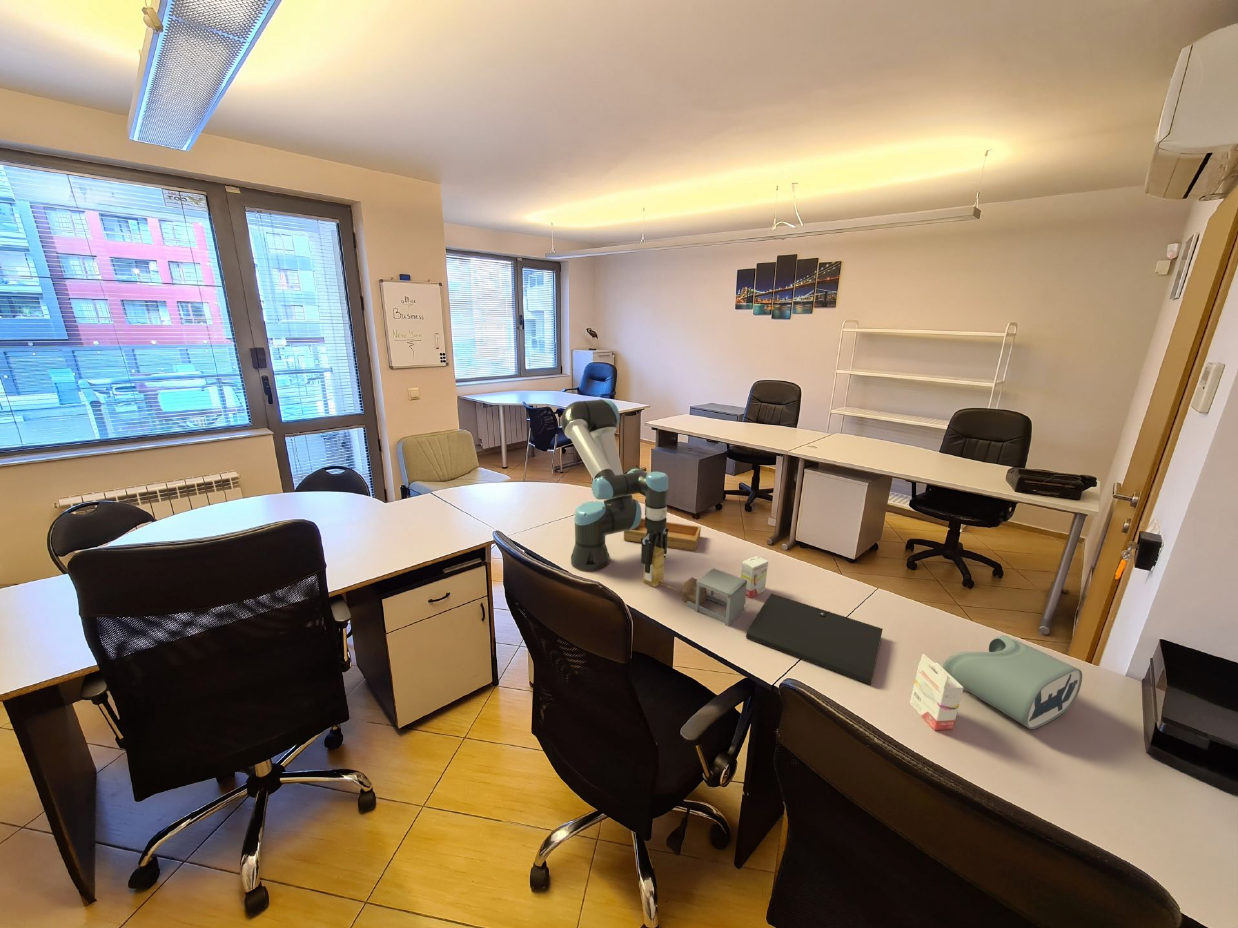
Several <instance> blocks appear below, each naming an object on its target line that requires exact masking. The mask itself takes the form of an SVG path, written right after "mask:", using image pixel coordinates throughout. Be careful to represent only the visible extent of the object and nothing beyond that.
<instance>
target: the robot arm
mask: <svg viewBox="0 0 1238 928" xmlns="http://www.w3.org/2000/svg"><path fill="white" fill-rule="evenodd" d="M620 418H621V416H620V411H619V408H618V406H617V405H616V403H615V402H614V401H612V400H610V399H602V398H601V399H595V400H594V399H591V400H577V401H574V402H571V403H570V404H569V405H568V406H566V407H565V409H564V410H563V413H562V415H561V419H560V423H561V428H562V432H563V433H564V435H565V437H566V438H567V439H570V441H571V442H572V444H573V445H574V447H575V449H576V451H577V453H578V455H579V456H580V458H581V460H582V462H583V464H584V465H585V467H586V469H587V471H588V473H589V474H590V476H591V478H592V482H591V485H590V486H591V491H592V494H593V497H594V498H595V499H596V500H600V501H594V500H593V501H587V502H584V503H582V504H580V505H578V506H577V508H576V509H575V512H574V520H573V521H574V539H575V543H574V547H573V549H572V553H571V555H570V564H571V566H572V567H573V568H575V569H577V570H579V571H584V572H594V571H600V570H604V569H605V568H607V567H608V566H609V565H610V561H611V560H610V558H611V555H610V553H609V551H608V546H607V545H606V536H608V535H609V536H610V535H613V534H618V533H622V532H623V533H624V531H629V530H631V529H634V528H636V527H637V526H638V525H639V524H640V521H641V518H642V515H643V513H642V511H643V510H642V507H641V504H640V502H639V501H638V500H637V499H636V498H633V496H632V495H635V494H636V495H637V494H640V495H642V496H644V497H645V504H644V505H645V506H644V516H645V517H644V518H645V528H646V529H647V533H646V537H645V538H641V543H640V544H641V546H640V547H641V551H640V552H641V553H640V563H641V564H642V565H643V566H644V565H645V579H646V580H648V581H652V575H653V564H651V563H652V558H653V553H654V548H655V546H656V547H659V548H663V549H664V559H666V555H667V553H668V547H667V535H668V531H669V529H667V528H666V522H668V520H667V514H668V499H669V477H668V474H667V473H665V472H661V471H650V472H646V471H644V470H641V469H639V468H632V469H630V470H629V471H627V473H624V471H623V468H622V462H621V457H620V455H619V450H618V445H617V441H616V435H615V433H616V431H617V430H618V429H617V426H618V425H619V424H620V421H621V420H620ZM601 500H602V501H603V502H602V501H601ZM650 542H651V543H650Z"/></svg>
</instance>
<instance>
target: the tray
mask: <svg viewBox="0 0 1238 928" xmlns="http://www.w3.org/2000/svg"><path fill="white" fill-rule="evenodd" d="M666 528H667V529H669V531H668V535H667V548H671V549H672V548H673V549H677V550H682V551H690V552H696V549H697V546H698V544H699V541H700V537H701V526H698V525H692V524H685V523H684V524H683V523H678V522H670V521H667V522H666ZM646 533H647V529H646V528H645V517H643V518H642V517H641V521H640V524H639V525H638V526H637V527H636V528H634V529H631V530H629V531H623V541H627V542H634V543H635V542H636V543H640V544H641V538H645V537H646ZM650 543H651V542H650Z"/></svg>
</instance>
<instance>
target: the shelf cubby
mask: <svg viewBox="0 0 1238 928" xmlns="http://www.w3.org/2000/svg"><path fill="white" fill-rule="evenodd" d="M696 584H697V590H696V604H695V603H692V602H690V601H687V602H686V606H687V607H689V608H691V609H693V610H694V612H697V613H699V612H700V613H702V614H704V615H706V616H709V617H711V618H713V619H716V620H717V621H720V622H722V623H724V625H725V626H726V627H729V626H730V625H731V624H732V623H733V622H734V621H735V620H736V619H737V618H738V617H739V616H740V615H741V614H742V613H743V612H744V611H745V605H746V597H747V596H746V586H747V580H744V579H742V578H741V577H739V576H737V575H734V574H731V573H728V572H726V571H724V570H723V571H722V570H719V569H718V568H715V567H713V568H712V569H710V570H709V571H707V572H706V573H705V574H703V576H701V577H700V578H699V579H698V580H697V581H696ZM700 586H702V587H704V588H707V590H709V591H710V593H709V592H707V595H706V599H708V600H710V601H712V602H715V603H718V604H719V605H723V606H724V607H726V610H725V616H724V615H722V614H720V613H717V612H715V611H713V610H711V609H708V608H705V607H703V606H702V605H699V597H700ZM715 593H717V594H719V595H721V596H724V597H727V599H724V598H720V597H718V596H716V595H715Z"/></svg>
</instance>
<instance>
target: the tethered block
mask: <svg viewBox="0 0 1238 928" xmlns="http://www.w3.org/2000/svg"><path fill="white" fill-rule="evenodd" d="M664 555H665V554H664V549H663V548H659V547H656V546H655V548H654V553H653V558H652V563H651V564H653V575H652V581H648V580H646V579H645V565H644V564H643V583H644V584H646V585H649V586H651V587H653V588H656V587H657V586H659V585H662V586H664V587H666V588H669V589H671V590H673V591H676V592H679V593H681V601H682V602H685V603H687V601H690V602H692V603H695V604H696V590H697V584H696V581H697V580H698V579H697V578H695V577H692V576H691V577H690V578H689V579H687V580H686V581H685V582H683V583H682V586H681V587H682V588H681V590H680V589H679V588H676V587H673V586H671V585H669V584H667V583H664V568H665V567H664V566H665V565H664V563H665V558H664ZM707 590H708V589H707V588H704V587H702V586H700V597H699V606H701V604H702V603H703V602H704V601H706V600H707V598H706V595H707V593H708V591H707Z"/></svg>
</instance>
